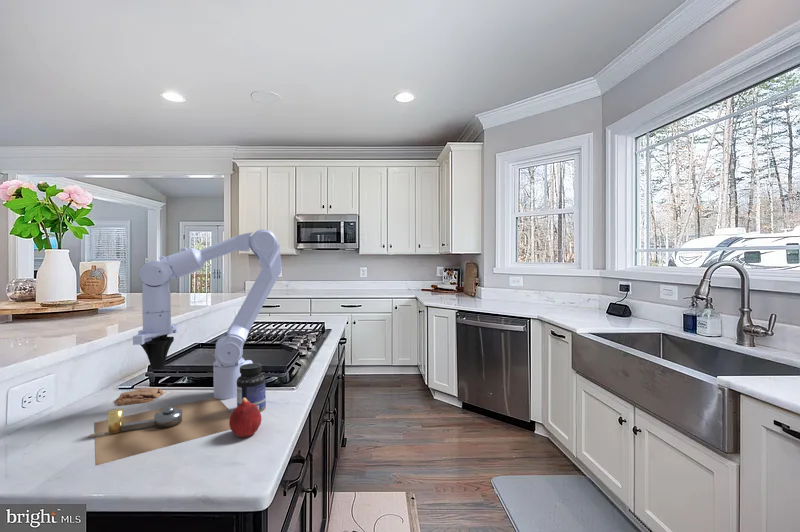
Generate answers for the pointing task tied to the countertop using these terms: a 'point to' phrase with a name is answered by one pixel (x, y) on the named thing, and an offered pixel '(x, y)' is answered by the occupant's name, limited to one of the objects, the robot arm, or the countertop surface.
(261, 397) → the pill bottle
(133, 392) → the cookie
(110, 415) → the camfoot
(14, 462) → the countertop surface
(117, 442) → the brown cutting board
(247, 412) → the red rounded piece
